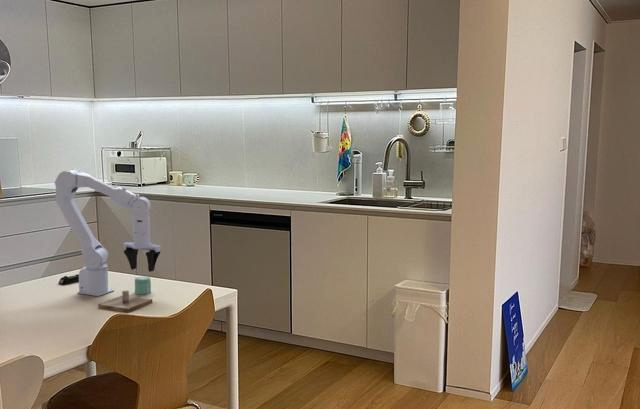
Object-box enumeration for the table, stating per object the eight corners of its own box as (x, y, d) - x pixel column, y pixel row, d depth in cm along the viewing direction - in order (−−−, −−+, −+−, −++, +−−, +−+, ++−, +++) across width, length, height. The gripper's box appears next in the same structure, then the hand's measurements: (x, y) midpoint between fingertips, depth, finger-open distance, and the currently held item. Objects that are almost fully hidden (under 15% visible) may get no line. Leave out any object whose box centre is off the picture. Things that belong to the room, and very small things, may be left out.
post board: (98, 307, 195) (97, 293, 194) (123, 298, 206) (123, 284, 205) (128, 312, 190) (128, 298, 190) (152, 302, 201) (152, 288, 201)
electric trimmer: (101, 278, 233) (101, 270, 233) (63, 286, 221) (63, 277, 221) (95, 277, 236) (95, 269, 235) (57, 284, 223) (57, 276, 223)
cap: (132, 293, 212) (131, 279, 212) (141, 289, 217) (141, 276, 216) (144, 295, 210) (143, 281, 210) (153, 291, 215) (153, 277, 214)
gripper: (117, 232, 210) (118, 270, 212) (151, 235, 204) (152, 274, 206) (130, 229, 216) (131, 266, 218) (164, 232, 211) (164, 270, 213)
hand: (142, 270), depth 213 cm, fingers open, 7 cm apart
